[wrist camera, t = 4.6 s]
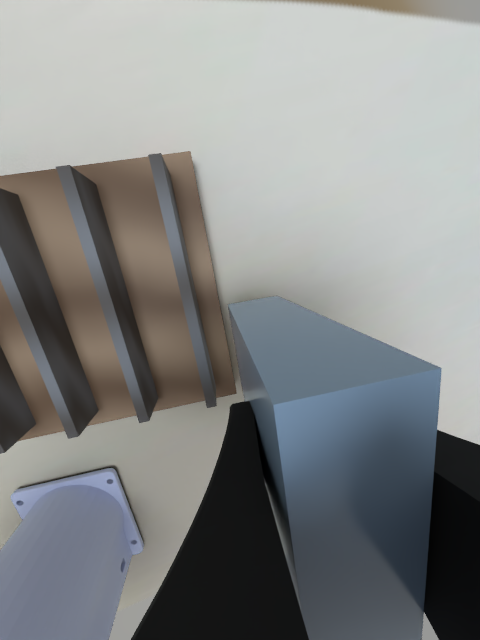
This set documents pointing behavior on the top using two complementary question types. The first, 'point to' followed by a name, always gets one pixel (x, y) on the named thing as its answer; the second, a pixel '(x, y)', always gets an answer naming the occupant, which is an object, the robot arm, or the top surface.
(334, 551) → the block
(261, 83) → the top surface
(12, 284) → the rack
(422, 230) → the top surface
